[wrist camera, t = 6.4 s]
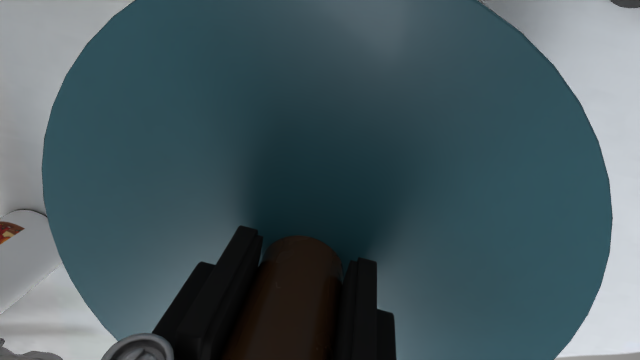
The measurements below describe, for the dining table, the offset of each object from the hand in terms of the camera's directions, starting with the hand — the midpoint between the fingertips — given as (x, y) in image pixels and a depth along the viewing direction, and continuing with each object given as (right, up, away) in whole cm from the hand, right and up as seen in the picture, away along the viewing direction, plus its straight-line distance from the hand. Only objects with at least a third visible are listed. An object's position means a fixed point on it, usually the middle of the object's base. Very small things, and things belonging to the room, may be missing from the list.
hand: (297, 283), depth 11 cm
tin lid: (0, +1, +1) cm, 1 cm away
